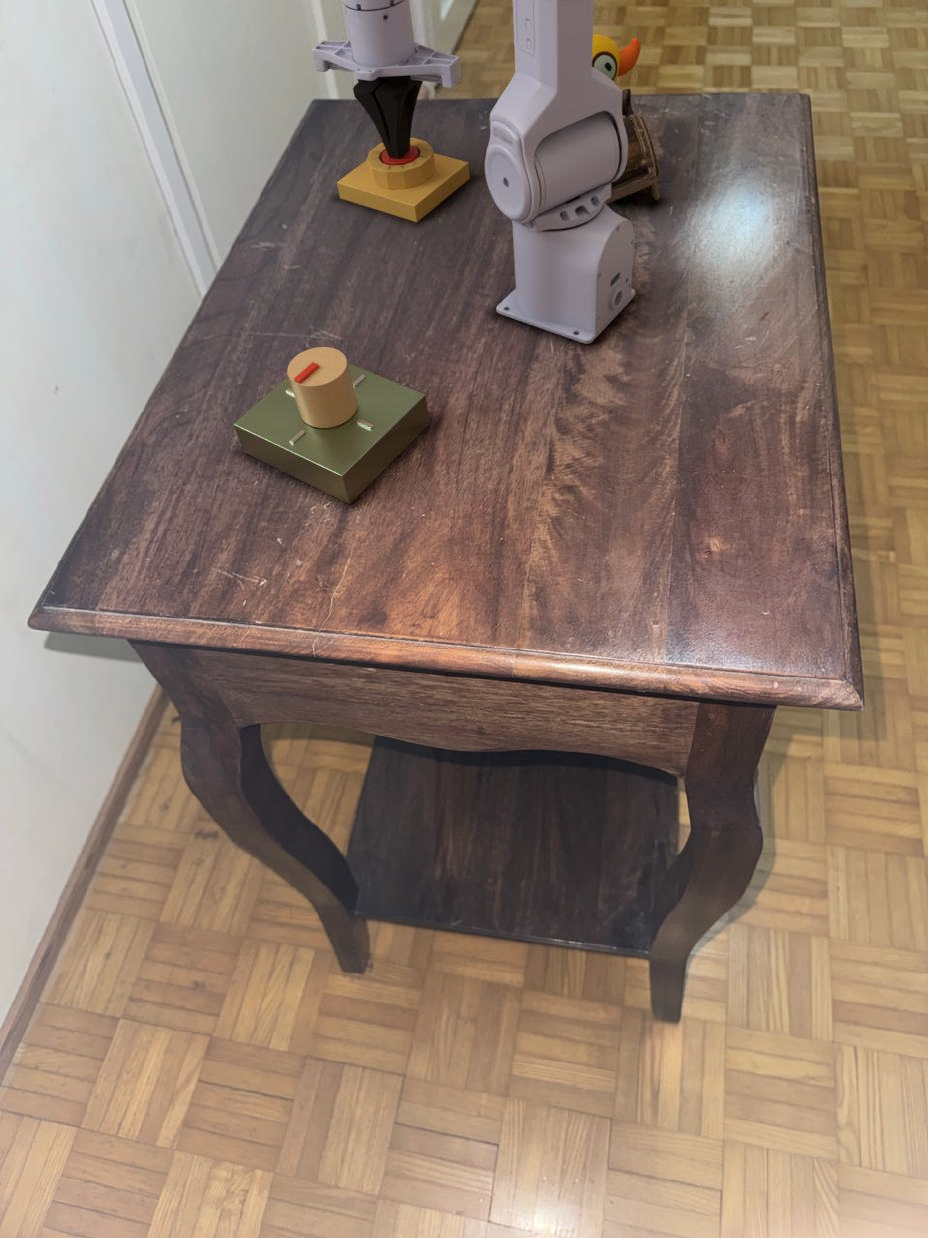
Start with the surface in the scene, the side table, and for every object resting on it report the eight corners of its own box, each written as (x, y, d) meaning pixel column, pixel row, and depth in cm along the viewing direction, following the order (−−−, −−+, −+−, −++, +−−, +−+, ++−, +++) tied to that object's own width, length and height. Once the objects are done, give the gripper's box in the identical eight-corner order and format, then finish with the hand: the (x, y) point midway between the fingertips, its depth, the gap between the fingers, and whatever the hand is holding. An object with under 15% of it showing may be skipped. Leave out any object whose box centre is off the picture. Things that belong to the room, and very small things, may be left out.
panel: (430, 424, 71) (425, 392, 69) (350, 505, 67) (341, 474, 64) (325, 379, 76) (317, 348, 73) (244, 452, 71) (231, 422, 69)
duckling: (623, 119, 96) (628, 14, 88) (646, 141, 93) (653, 34, 85) (524, 147, 95) (520, 42, 87) (544, 170, 92) (541, 64, 84)
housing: (470, 178, 92) (466, 143, 90) (417, 222, 88) (411, 187, 86) (393, 156, 96) (388, 123, 94) (339, 198, 92) (332, 164, 90)
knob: (326, 382, 71) (313, 336, 67) (369, 401, 69) (358, 354, 65) (288, 415, 69) (273, 370, 65) (331, 435, 67) (318, 389, 63)
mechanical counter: (665, 175, 79) (677, 95, 83) (520, 160, 81) (538, 82, 84) (652, 238, 86) (664, 162, 89) (519, 223, 87) (536, 148, 91)
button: (427, 166, 91) (424, 148, 90) (405, 183, 89) (402, 165, 88) (399, 158, 92) (396, 141, 91) (377, 175, 91) (374, 157, 89)
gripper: (281, 9, 79) (316, 163, 90) (428, 24, 74) (446, 185, 85) (323, -24, 82) (352, 128, 93) (465, -11, 78) (478, 148, 89)
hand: (399, 153), depth 90 cm, fingers closed, pressing on button
